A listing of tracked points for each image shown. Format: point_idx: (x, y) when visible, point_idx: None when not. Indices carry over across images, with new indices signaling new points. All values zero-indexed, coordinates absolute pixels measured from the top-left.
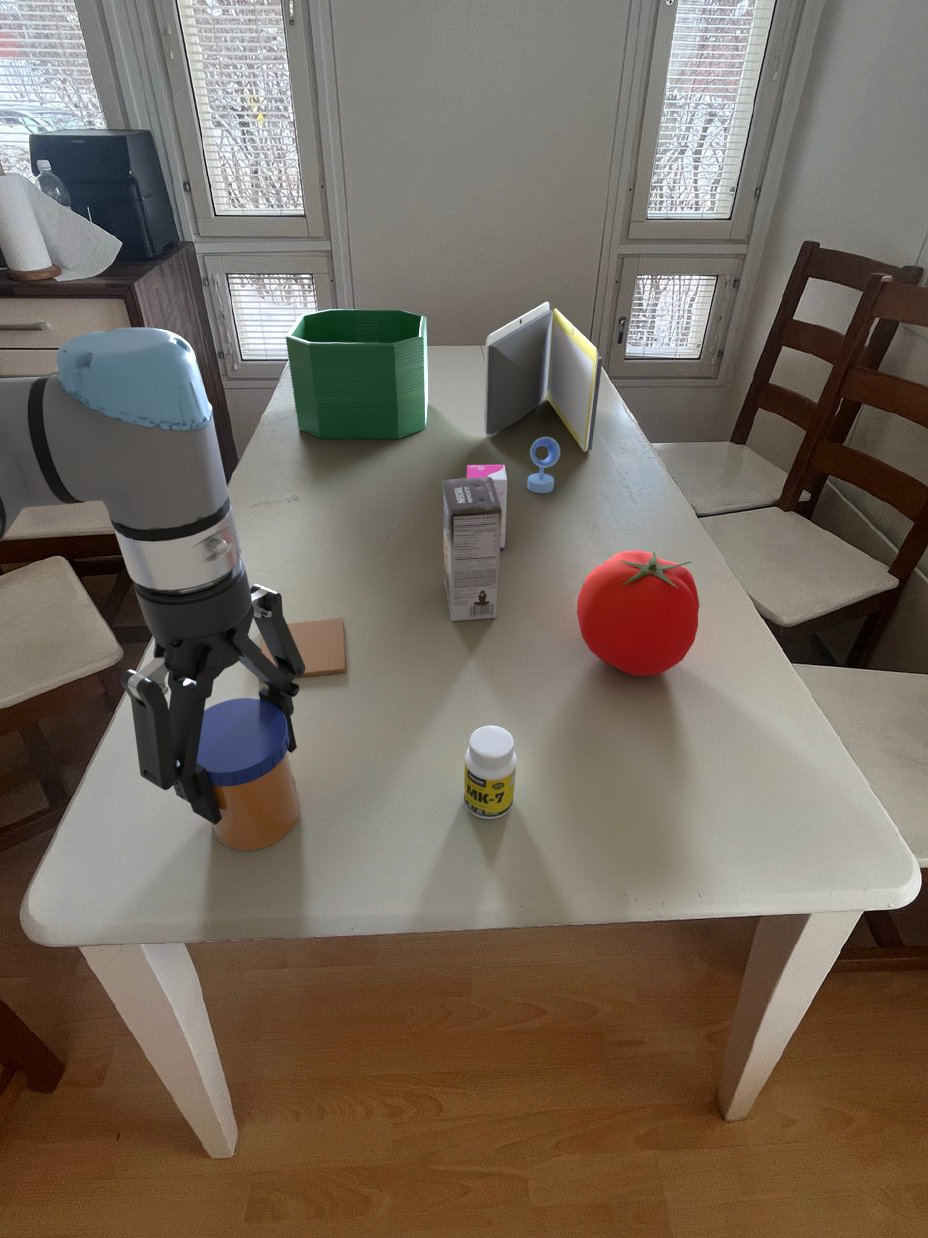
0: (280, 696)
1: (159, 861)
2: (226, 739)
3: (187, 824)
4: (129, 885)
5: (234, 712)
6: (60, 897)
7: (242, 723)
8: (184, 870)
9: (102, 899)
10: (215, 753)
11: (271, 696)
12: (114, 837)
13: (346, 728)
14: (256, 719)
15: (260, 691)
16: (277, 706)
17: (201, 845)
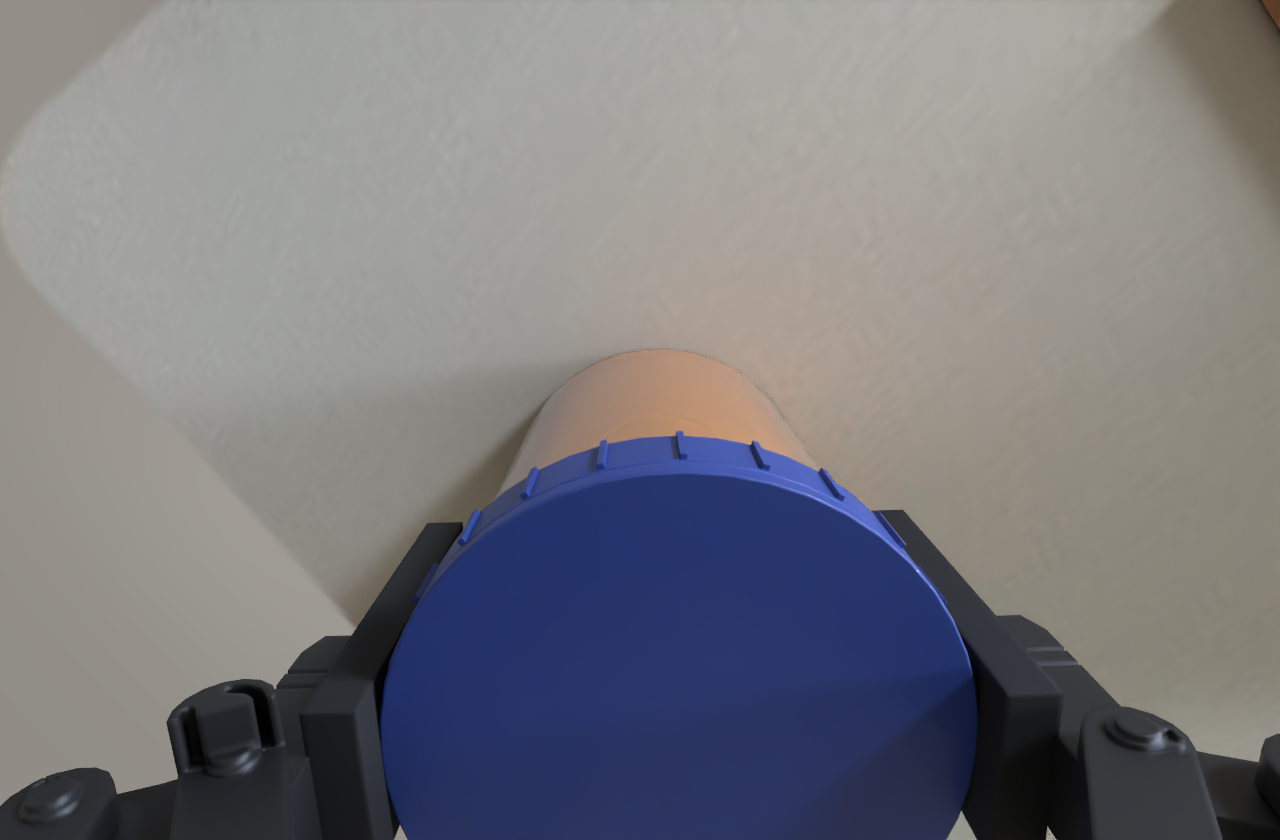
0: (1034, 831)
1: (353, 364)
2: (616, 756)
3: (498, 325)
4: (243, 356)
5: (804, 637)
6: (71, 204)
7: (758, 739)
8: (383, 455)
9: (162, 327)
10: (511, 778)
11: (1009, 790)
12: (307, 148)
13: (1126, 481)
14: (825, 777)
15: (1016, 708)
16: (971, 791)
17: (473, 429)
